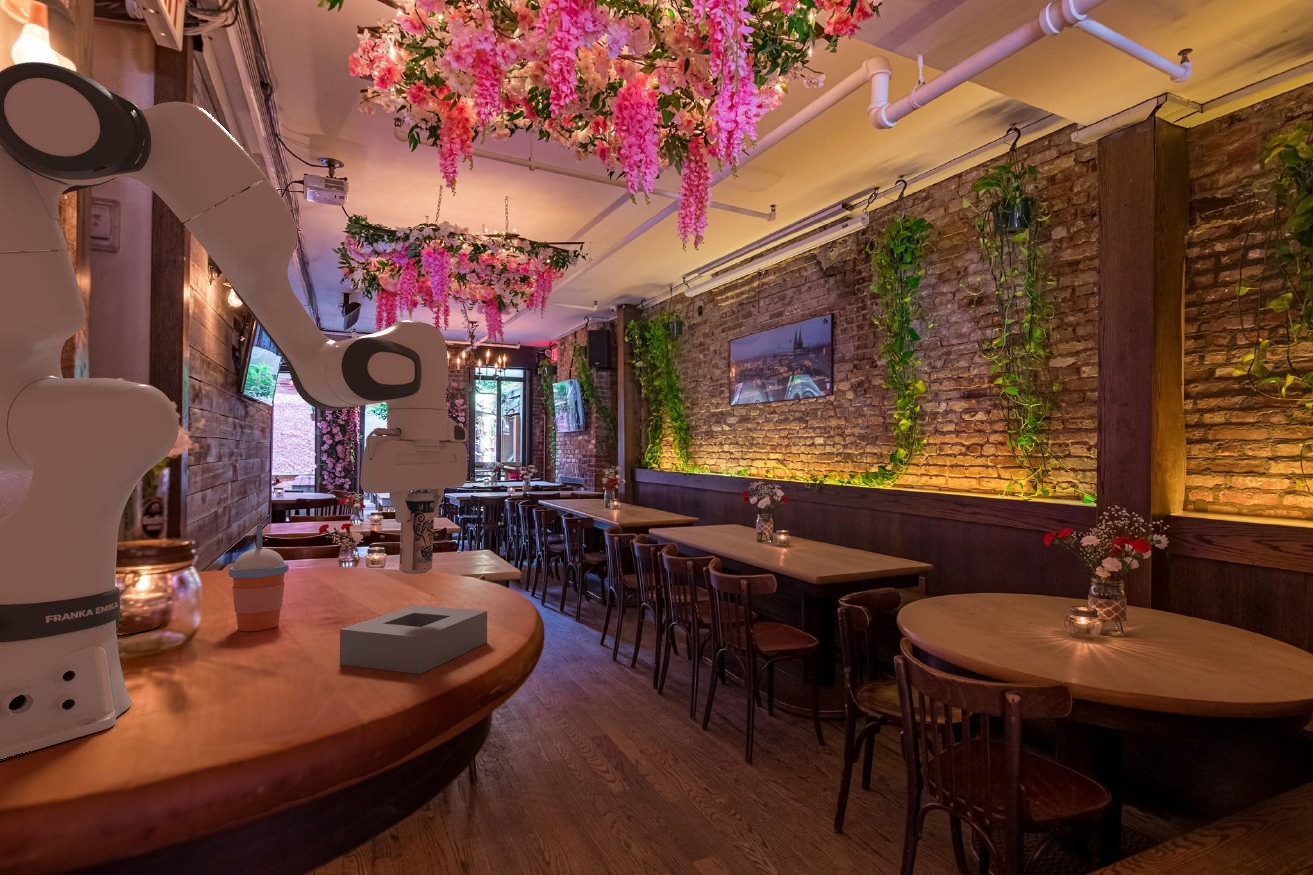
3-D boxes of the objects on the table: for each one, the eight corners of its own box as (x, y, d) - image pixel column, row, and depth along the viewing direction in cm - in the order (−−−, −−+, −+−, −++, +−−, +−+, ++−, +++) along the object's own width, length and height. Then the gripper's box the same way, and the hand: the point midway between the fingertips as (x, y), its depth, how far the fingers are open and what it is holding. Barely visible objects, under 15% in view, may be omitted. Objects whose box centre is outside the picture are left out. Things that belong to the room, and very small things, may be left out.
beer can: (421, 575, 97) (424, 494, 97) (392, 573, 98) (395, 492, 98) (438, 569, 102) (440, 492, 102) (409, 567, 103) (412, 490, 103)
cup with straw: (232, 624, 117) (233, 523, 118) (290, 618, 121) (291, 521, 122) (223, 636, 109) (224, 528, 110) (285, 630, 113) (286, 525, 114)
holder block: (420, 674, 90) (420, 637, 90) (339, 664, 94) (339, 629, 94) (487, 642, 105) (487, 610, 105) (414, 635, 109) (414, 605, 109)
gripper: (386, 426, 89) (385, 528, 89) (474, 431, 109) (474, 514, 108) (349, 427, 91) (348, 526, 91) (442, 431, 111) (442, 513, 110)
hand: (417, 520), depth 100 cm, fingers closed on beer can, 5 cm apart
